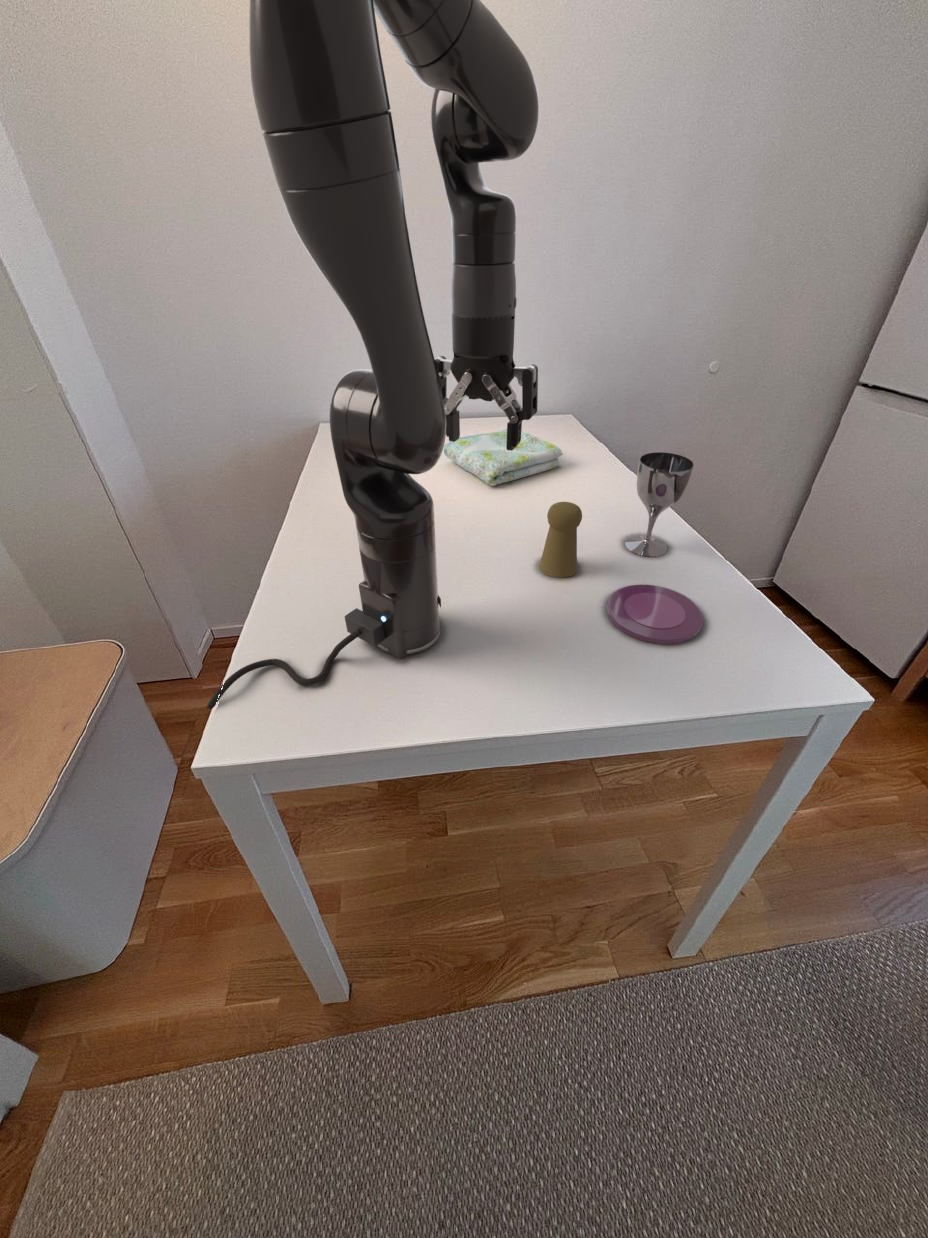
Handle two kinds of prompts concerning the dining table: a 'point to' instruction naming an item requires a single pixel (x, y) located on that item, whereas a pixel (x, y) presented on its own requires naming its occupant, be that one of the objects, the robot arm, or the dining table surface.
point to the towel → (502, 456)
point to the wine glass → (658, 495)
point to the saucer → (654, 614)
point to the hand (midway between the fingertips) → (482, 444)
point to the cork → (561, 540)
